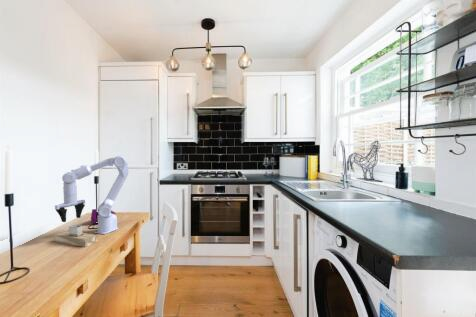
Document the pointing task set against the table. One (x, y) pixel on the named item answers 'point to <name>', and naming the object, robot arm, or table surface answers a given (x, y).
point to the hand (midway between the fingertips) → (71, 219)
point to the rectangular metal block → (75, 230)
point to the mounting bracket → (96, 216)
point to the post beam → (76, 239)
